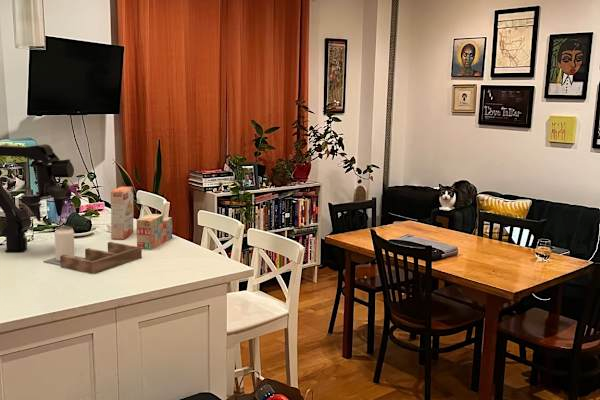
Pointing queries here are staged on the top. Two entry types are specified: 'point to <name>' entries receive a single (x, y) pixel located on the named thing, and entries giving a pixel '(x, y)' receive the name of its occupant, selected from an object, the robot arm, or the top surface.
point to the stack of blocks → (153, 231)
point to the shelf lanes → (102, 258)
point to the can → (64, 242)
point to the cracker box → (121, 212)
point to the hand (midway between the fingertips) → (49, 218)
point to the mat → (55, 262)
